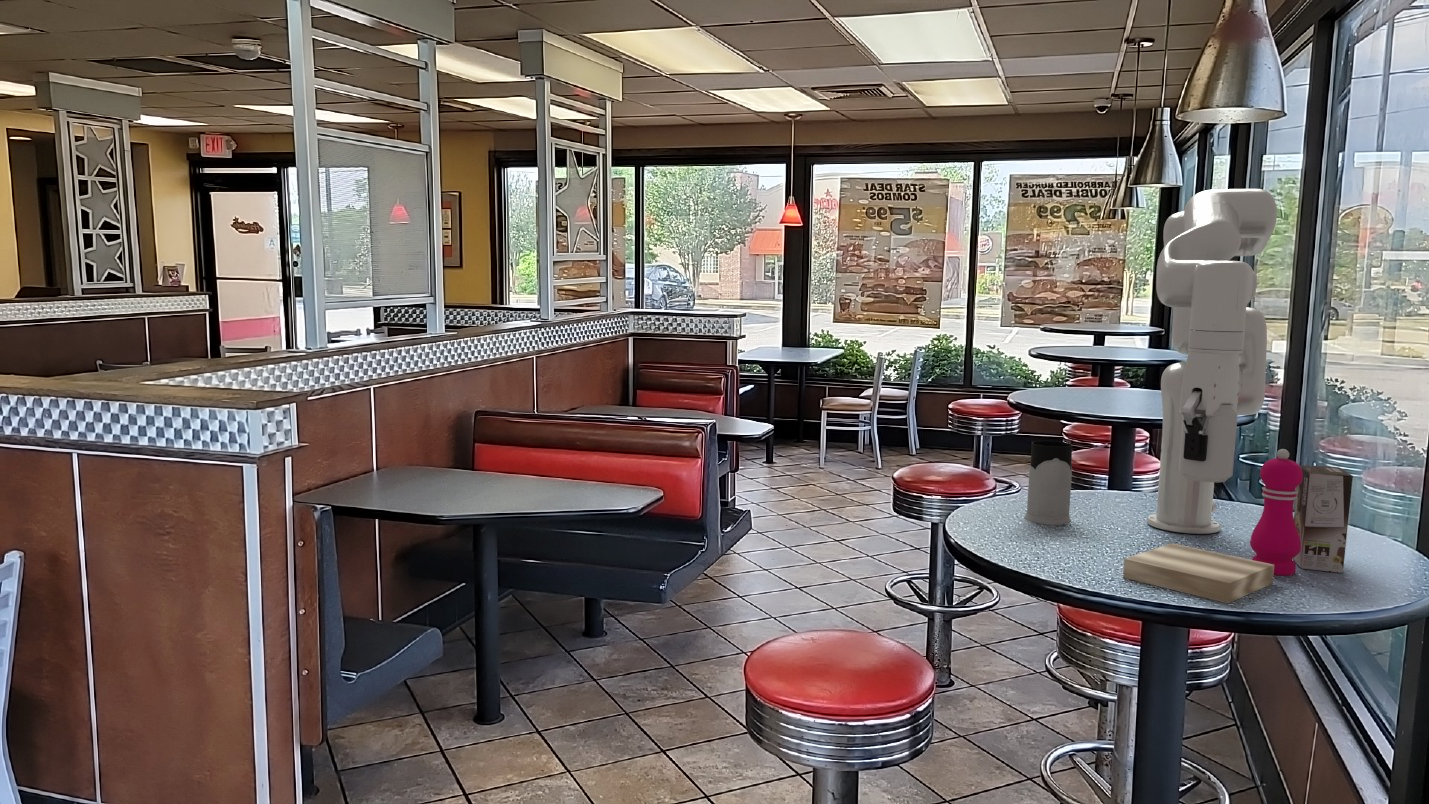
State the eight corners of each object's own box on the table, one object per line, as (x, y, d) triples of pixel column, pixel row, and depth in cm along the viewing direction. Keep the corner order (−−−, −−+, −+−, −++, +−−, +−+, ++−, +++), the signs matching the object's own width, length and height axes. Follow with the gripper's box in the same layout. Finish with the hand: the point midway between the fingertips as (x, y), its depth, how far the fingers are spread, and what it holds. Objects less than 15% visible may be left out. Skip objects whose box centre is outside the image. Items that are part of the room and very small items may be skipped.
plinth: (1170, 560, 168) (1172, 543, 168) (1272, 583, 156) (1274, 564, 156) (1122, 577, 158) (1124, 558, 158) (1228, 603, 146) (1229, 583, 146)
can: (1238, 484, 151) (1245, 405, 150) (1185, 481, 153) (1191, 403, 151) (1223, 475, 158) (1230, 399, 157) (1173, 472, 160) (1178, 397, 158)
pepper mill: (1239, 563, 168) (1249, 444, 165) (1283, 564, 167) (1294, 446, 165) (1261, 576, 160) (1272, 452, 158) (1307, 577, 160) (1319, 453, 158)
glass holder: (1029, 523, 193) (1033, 446, 191) (1014, 507, 207) (1018, 435, 205) (1076, 525, 192) (1081, 448, 190) (1058, 509, 206) (1062, 436, 204)
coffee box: (1345, 573, 163) (1354, 475, 161) (1299, 569, 165) (1308, 472, 163) (1332, 559, 171) (1341, 466, 169) (1289, 555, 173) (1297, 463, 171)
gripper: (1215, 340, 161) (1207, 448, 164) (1164, 342, 150) (1155, 459, 152) (1265, 342, 156) (1255, 455, 158) (1215, 346, 145) (1206, 467, 147)
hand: (1206, 456), depth 155 cm, fingers closed on can, 7 cm apart
